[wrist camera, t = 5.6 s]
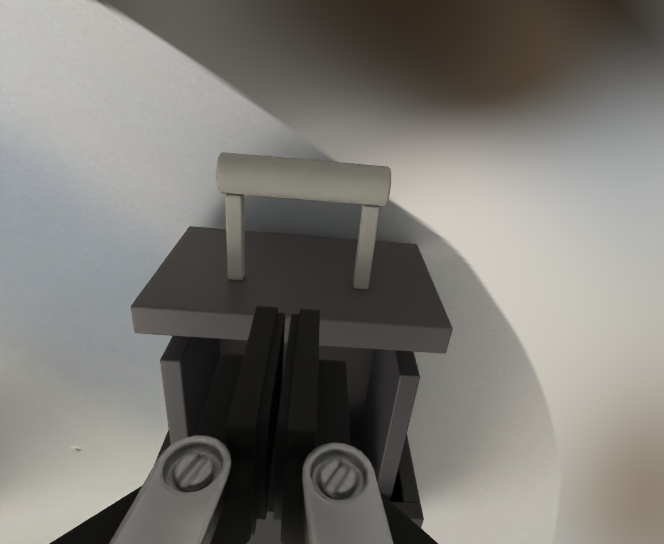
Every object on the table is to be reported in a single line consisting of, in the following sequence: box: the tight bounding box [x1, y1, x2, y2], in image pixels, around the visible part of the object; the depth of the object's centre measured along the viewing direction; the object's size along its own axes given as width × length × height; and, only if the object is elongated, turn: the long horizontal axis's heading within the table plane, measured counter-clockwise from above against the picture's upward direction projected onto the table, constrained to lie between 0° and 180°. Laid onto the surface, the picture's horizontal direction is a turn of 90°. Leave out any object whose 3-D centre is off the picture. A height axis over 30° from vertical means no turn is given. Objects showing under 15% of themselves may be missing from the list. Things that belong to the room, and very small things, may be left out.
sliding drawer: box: [131, 153, 452, 500], centre depth 21 cm, size 18×11×7 cm, turn 175°
